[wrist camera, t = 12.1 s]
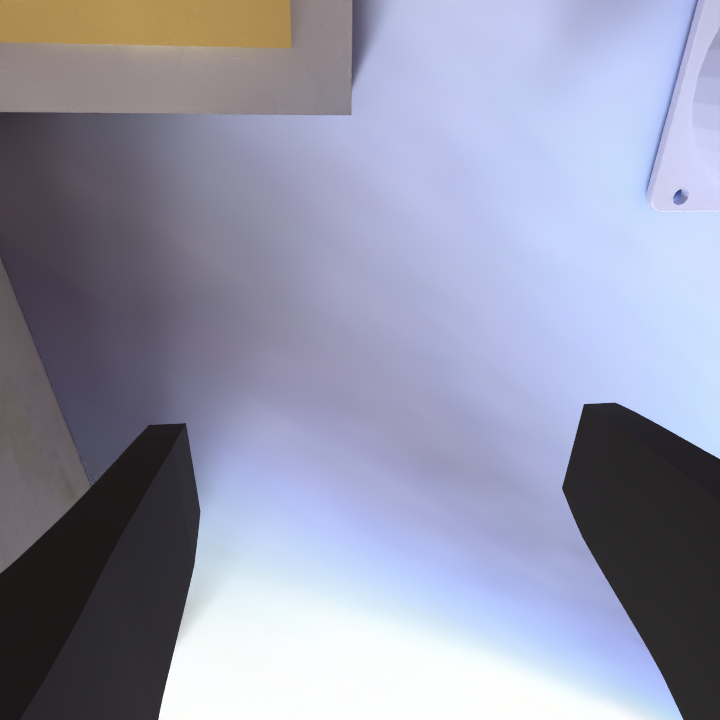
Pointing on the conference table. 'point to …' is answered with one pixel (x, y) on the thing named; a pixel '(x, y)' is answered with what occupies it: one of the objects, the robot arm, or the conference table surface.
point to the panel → (176, 56)
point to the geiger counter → (30, 439)
